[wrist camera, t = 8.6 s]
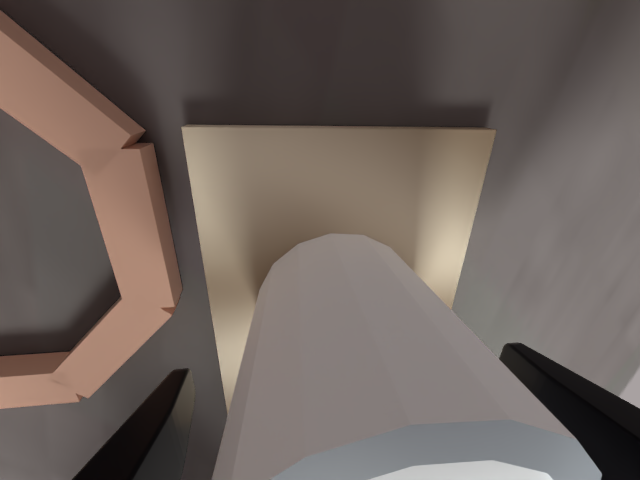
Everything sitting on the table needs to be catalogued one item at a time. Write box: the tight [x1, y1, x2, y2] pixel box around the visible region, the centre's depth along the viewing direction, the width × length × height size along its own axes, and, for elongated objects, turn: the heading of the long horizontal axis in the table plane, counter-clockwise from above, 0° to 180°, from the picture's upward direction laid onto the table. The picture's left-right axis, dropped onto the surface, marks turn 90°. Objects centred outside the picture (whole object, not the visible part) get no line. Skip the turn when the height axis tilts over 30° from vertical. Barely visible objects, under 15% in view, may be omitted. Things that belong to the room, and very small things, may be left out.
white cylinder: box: [211, 233, 602, 480], centre depth 8 cm, size 7×7×7 cm
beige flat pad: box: [181, 125, 497, 414], centre depth 12 cm, size 12×9×1 cm
